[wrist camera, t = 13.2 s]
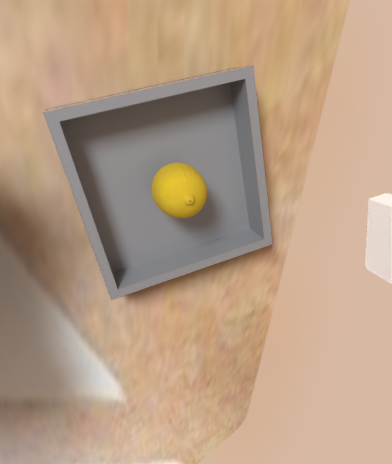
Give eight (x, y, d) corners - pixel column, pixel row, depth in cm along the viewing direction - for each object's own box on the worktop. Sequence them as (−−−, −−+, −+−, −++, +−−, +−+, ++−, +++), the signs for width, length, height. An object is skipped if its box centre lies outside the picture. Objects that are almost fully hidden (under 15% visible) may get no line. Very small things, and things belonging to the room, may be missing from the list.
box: (107, 280, 42) (111, 300, 38) (46, 109, 34) (43, 112, 30) (255, 230, 47) (272, 244, 43) (234, 67, 38) (253, 65, 34)
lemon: (145, 156, 38) (162, 171, 31) (193, 157, 40) (220, 171, 32) (144, 205, 40) (160, 230, 33) (191, 204, 42) (215, 227, 34)
